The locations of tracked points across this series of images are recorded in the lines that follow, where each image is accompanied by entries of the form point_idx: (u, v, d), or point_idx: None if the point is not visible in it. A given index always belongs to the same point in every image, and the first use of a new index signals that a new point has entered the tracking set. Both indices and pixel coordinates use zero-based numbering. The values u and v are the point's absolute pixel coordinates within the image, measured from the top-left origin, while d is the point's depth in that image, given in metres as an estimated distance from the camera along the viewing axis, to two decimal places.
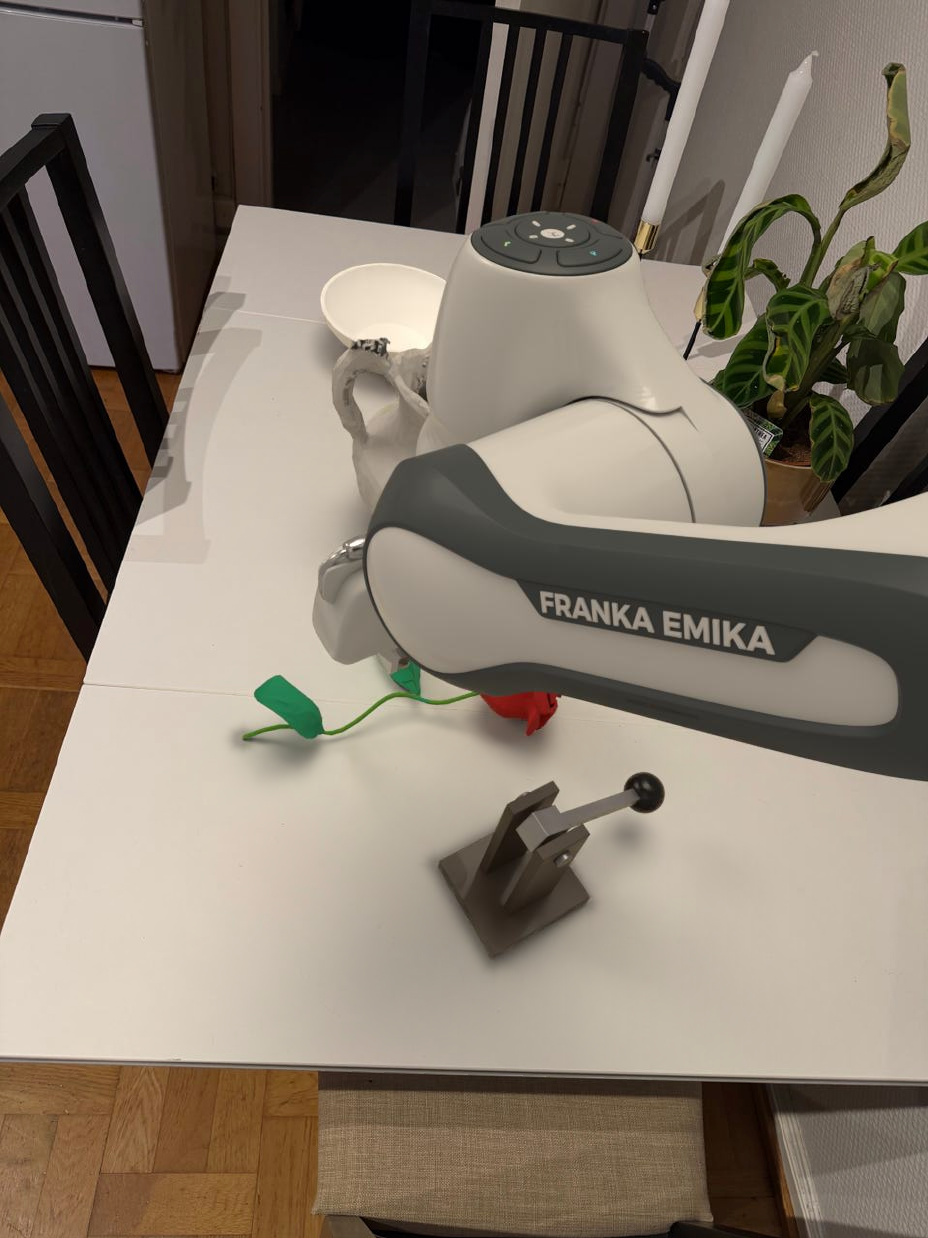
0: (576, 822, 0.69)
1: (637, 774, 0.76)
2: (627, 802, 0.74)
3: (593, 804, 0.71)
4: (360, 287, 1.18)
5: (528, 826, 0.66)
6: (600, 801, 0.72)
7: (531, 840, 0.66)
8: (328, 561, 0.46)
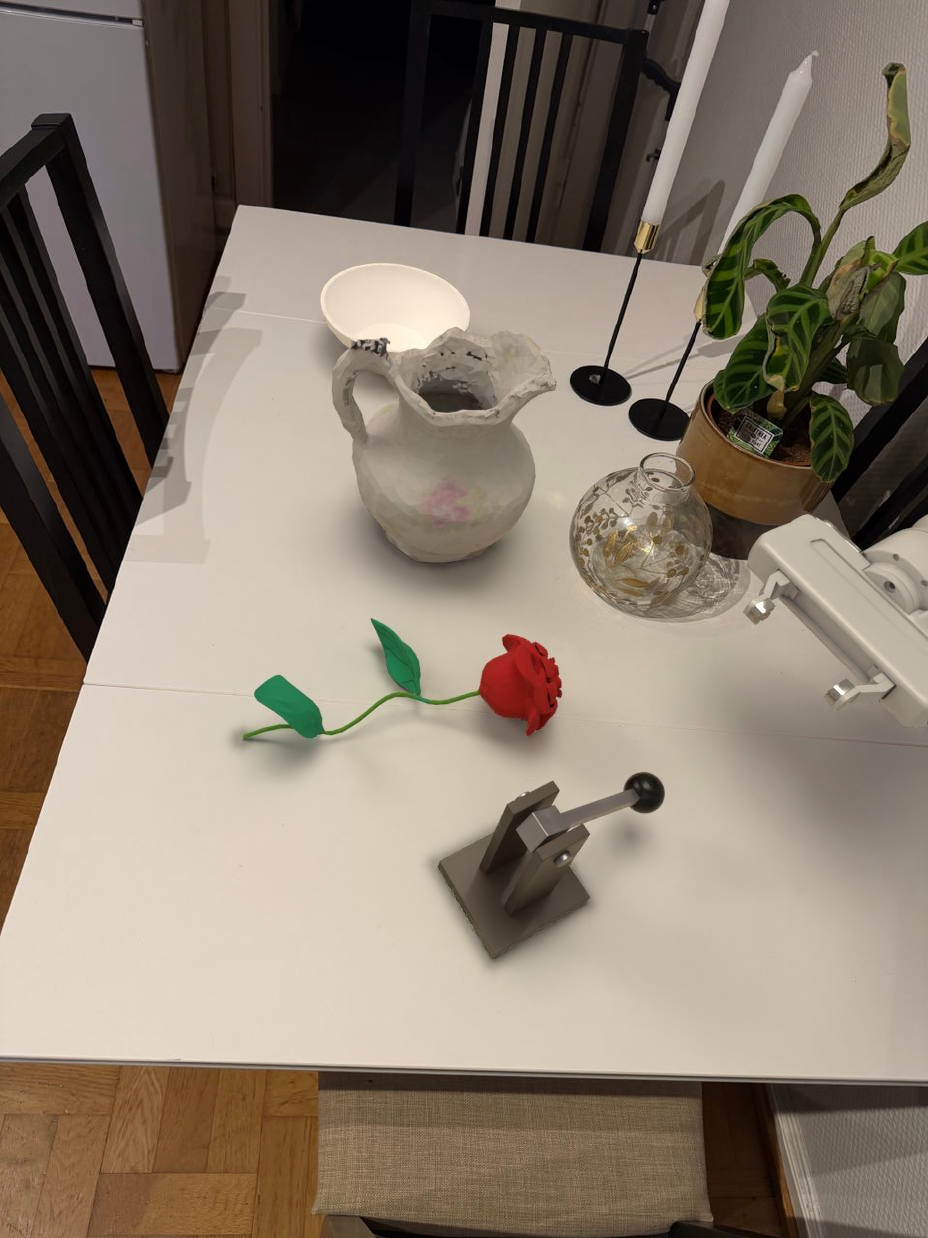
0: (576, 822, 0.69)
1: (637, 774, 0.76)
2: (627, 802, 0.74)
3: (593, 804, 0.71)
4: (360, 287, 1.18)
5: (528, 826, 0.66)
6: (600, 801, 0.72)
7: (531, 840, 0.66)
8: None
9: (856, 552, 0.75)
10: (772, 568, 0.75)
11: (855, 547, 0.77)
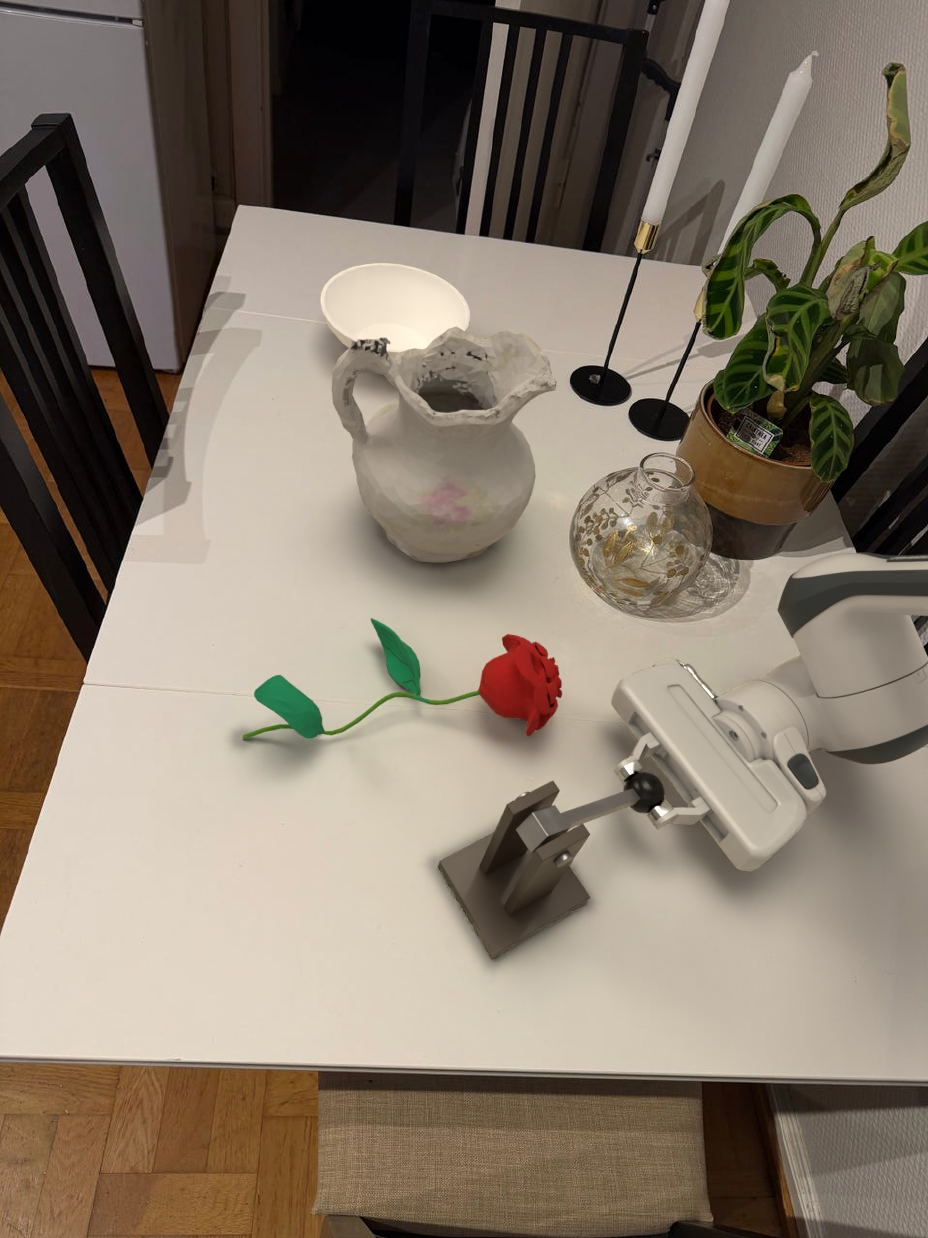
0: (576, 822, 0.69)
1: (637, 774, 0.76)
2: (627, 802, 0.74)
3: (593, 804, 0.71)
4: (360, 287, 1.18)
5: (528, 826, 0.66)
6: (600, 801, 0.72)
7: (531, 840, 0.66)
8: (675, 659, 0.86)
9: (709, 699, 0.82)
10: (630, 710, 0.81)
11: (711, 692, 0.84)
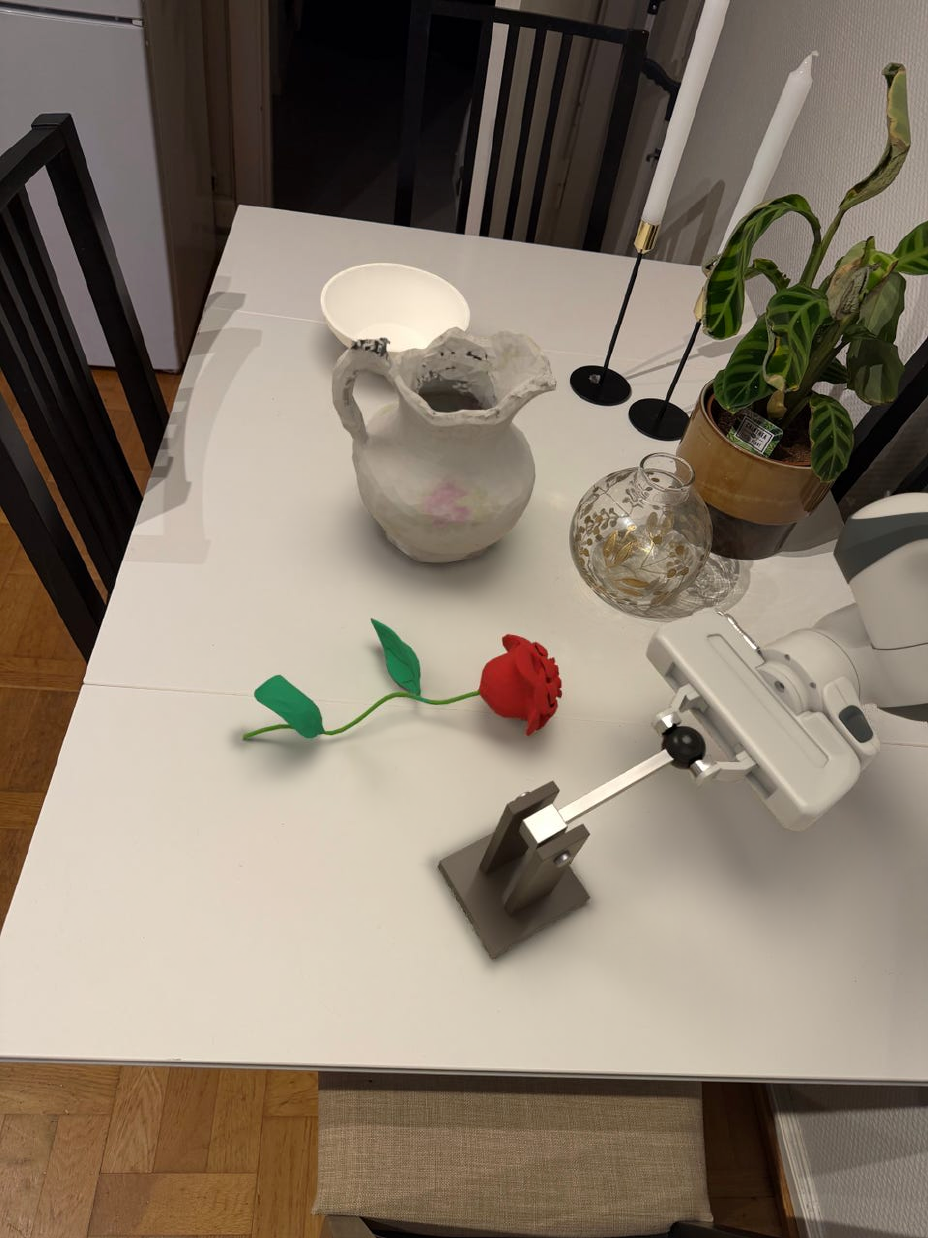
0: (583, 812, 0.67)
1: (670, 731, 0.71)
2: (654, 769, 0.70)
3: (608, 784, 0.69)
4: (360, 287, 1.18)
5: (524, 831, 0.66)
6: (617, 778, 0.69)
7: (530, 843, 0.66)
8: (714, 609, 0.81)
9: (751, 649, 0.76)
10: (667, 660, 0.75)
11: (753, 643, 0.78)
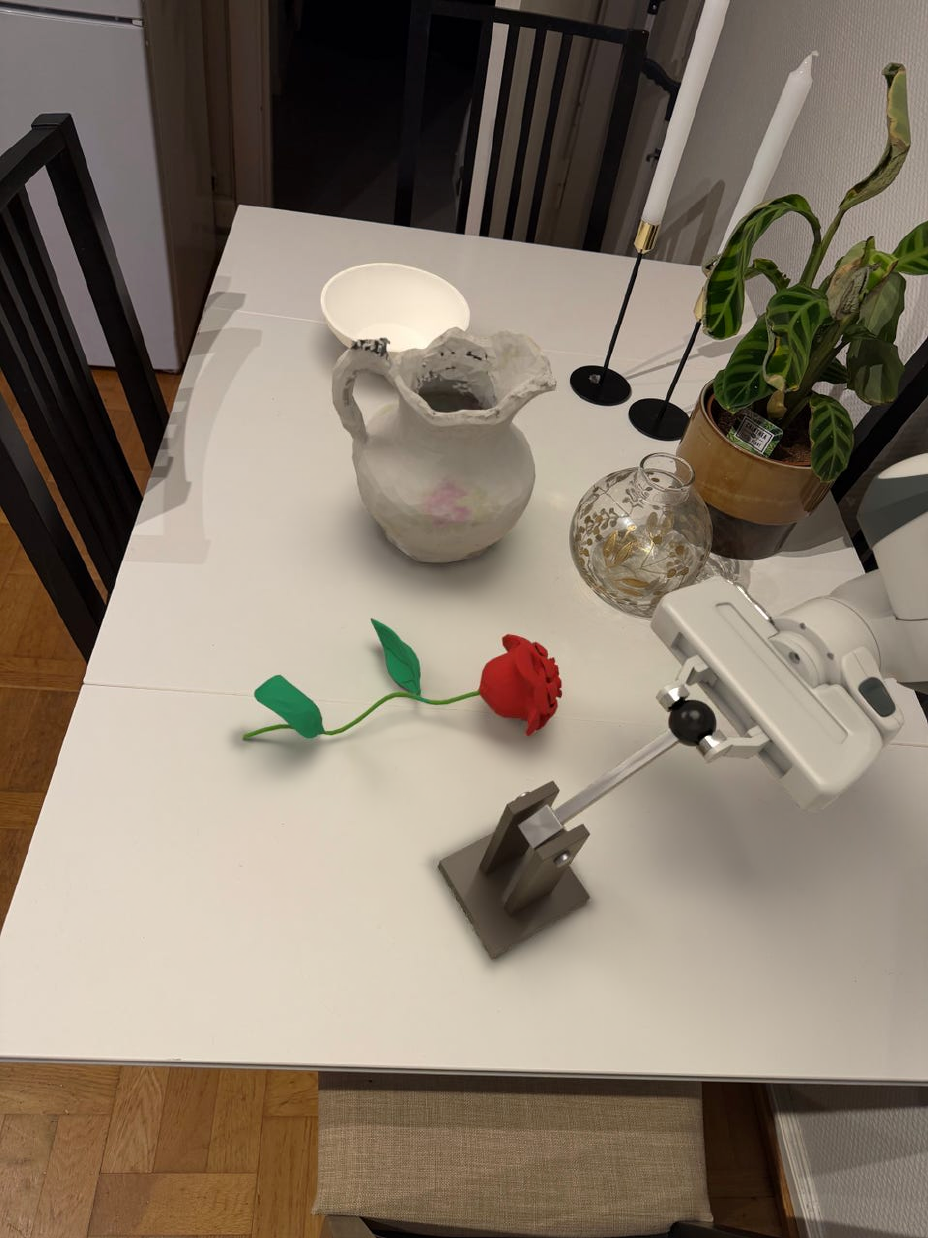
0: (582, 808, 0.66)
1: (674, 709, 0.66)
2: (657, 753, 0.66)
3: (607, 775, 0.66)
4: (360, 287, 1.18)
5: None
6: (617, 768, 0.66)
7: None
8: (723, 578, 0.76)
9: (764, 619, 0.71)
10: (674, 630, 0.70)
11: (765, 613, 0.73)
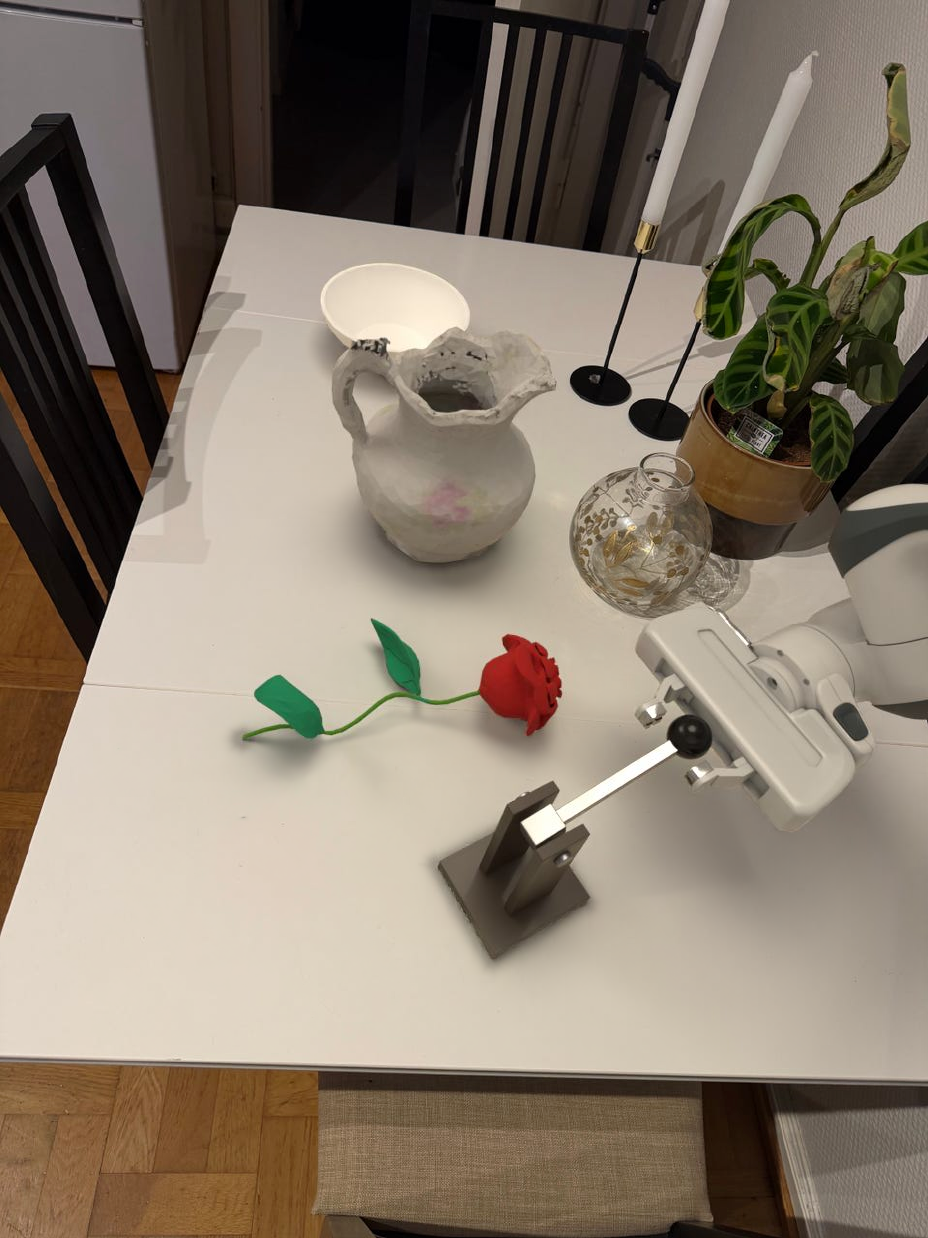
0: (584, 810, 0.67)
1: (674, 721, 0.69)
2: (657, 762, 0.68)
3: (609, 780, 0.68)
4: (360, 287, 1.18)
5: (524, 832, 0.67)
6: (619, 773, 0.68)
7: (530, 844, 0.67)
8: (705, 604, 0.78)
9: (743, 645, 0.74)
10: (657, 656, 0.73)
11: (745, 639, 0.76)
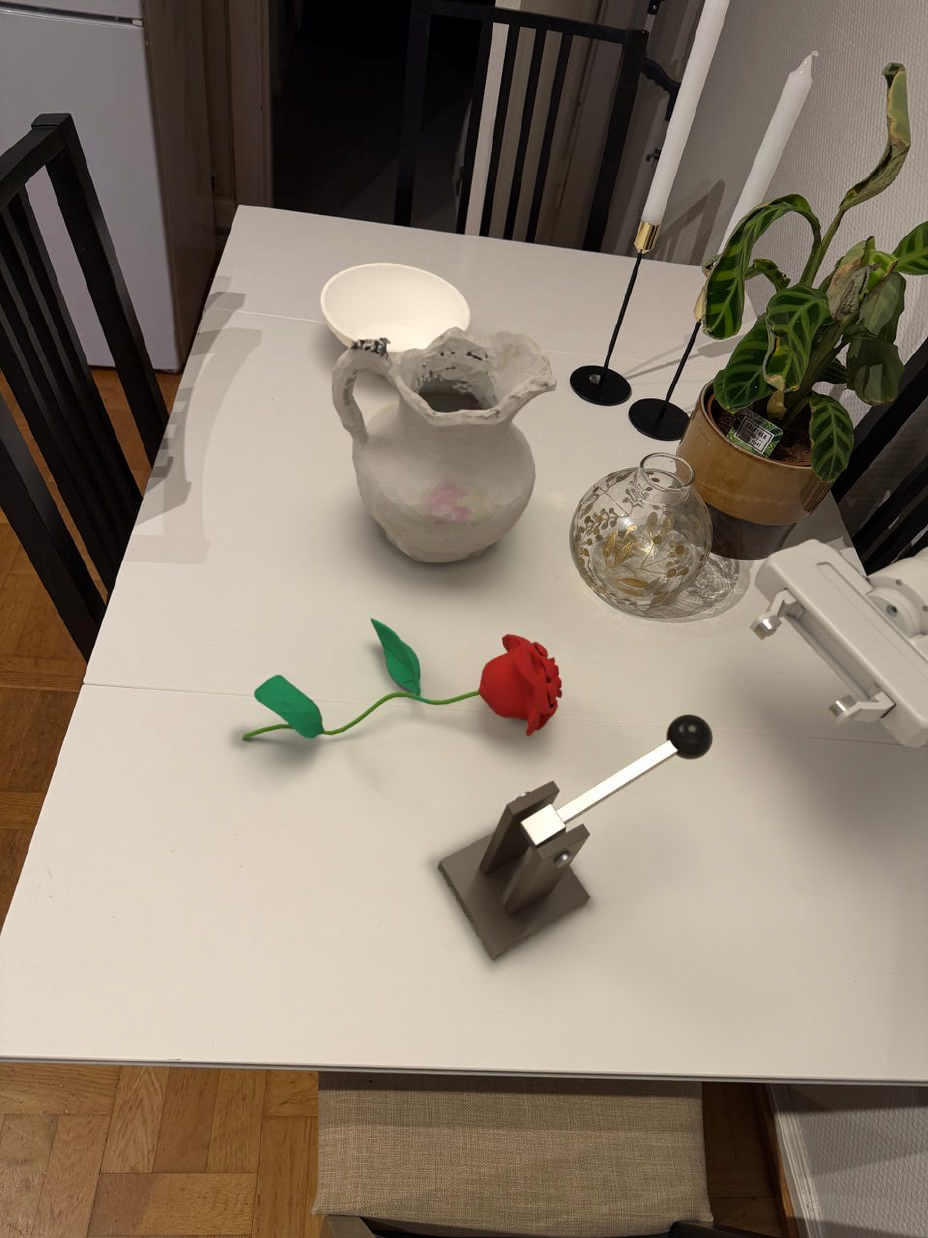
0: (584, 810, 0.67)
1: (674, 721, 0.69)
2: (657, 762, 0.68)
3: (609, 780, 0.68)
4: (360, 287, 1.18)
5: (524, 832, 0.67)
6: (619, 773, 0.68)
7: (530, 844, 0.67)
8: None
9: (860, 577, 0.78)
10: (779, 587, 0.77)
11: (859, 573, 0.80)
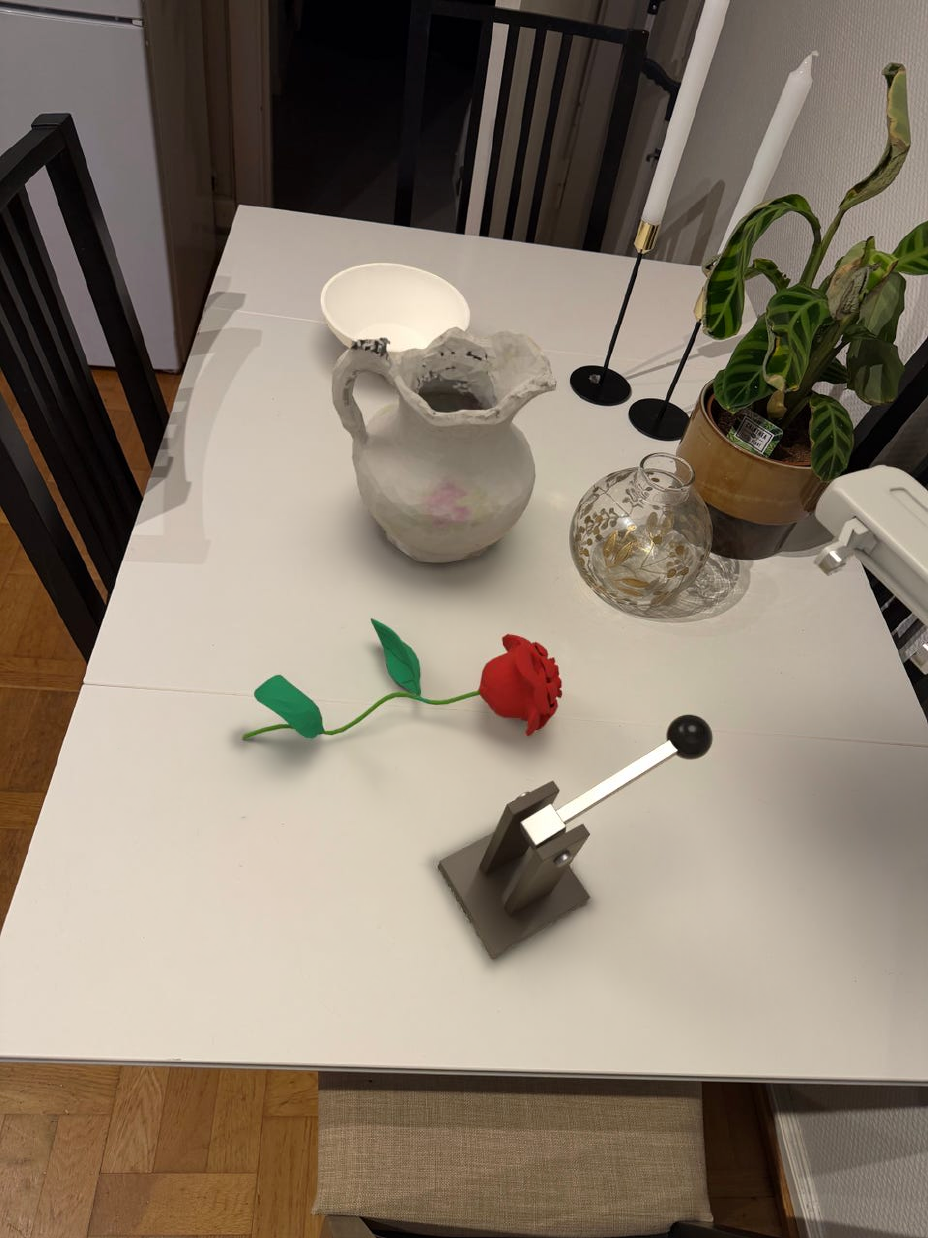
0: (584, 810, 0.67)
1: (674, 721, 0.69)
2: (657, 762, 0.68)
3: (609, 780, 0.68)
4: (360, 287, 1.18)
5: (524, 832, 0.67)
6: (619, 773, 0.68)
7: (530, 844, 0.67)
8: None
9: None
10: (847, 515, 0.65)
11: None
